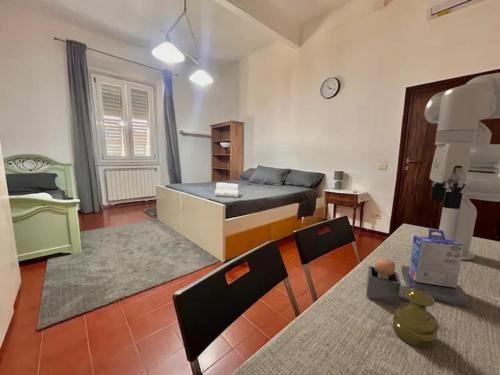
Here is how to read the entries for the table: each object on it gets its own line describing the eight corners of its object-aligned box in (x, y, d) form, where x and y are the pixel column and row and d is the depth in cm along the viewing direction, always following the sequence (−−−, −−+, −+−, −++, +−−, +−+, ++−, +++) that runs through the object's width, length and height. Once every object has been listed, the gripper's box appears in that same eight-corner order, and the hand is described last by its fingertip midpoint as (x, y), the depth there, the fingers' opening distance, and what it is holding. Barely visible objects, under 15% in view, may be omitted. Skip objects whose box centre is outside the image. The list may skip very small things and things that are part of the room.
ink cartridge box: (445, 277, 65) (454, 230, 62) (458, 289, 59) (467, 237, 57) (407, 272, 67) (413, 226, 65) (415, 282, 62) (423, 233, 59)
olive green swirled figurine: (441, 339, 45) (450, 295, 44) (426, 356, 41) (434, 308, 40) (402, 316, 51) (408, 277, 50) (385, 329, 47) (391, 286, 46)
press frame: (365, 263, 76) (367, 246, 75) (449, 281, 66) (452, 262, 65) (366, 297, 58) (369, 276, 57) (483, 329, 48) (488, 304, 47)
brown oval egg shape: (372, 275, 61) (375, 256, 60) (391, 279, 59) (394, 260, 59) (373, 283, 57) (376, 263, 57) (393, 288, 56) (396, 267, 55)
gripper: (426, 140, 66) (417, 197, 69) (449, 136, 50) (437, 209, 53) (458, 141, 63) (448, 200, 66) (494, 136, 47) (478, 214, 50)
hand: (443, 204), depth 59 cm, fingers open, 9 cm apart
